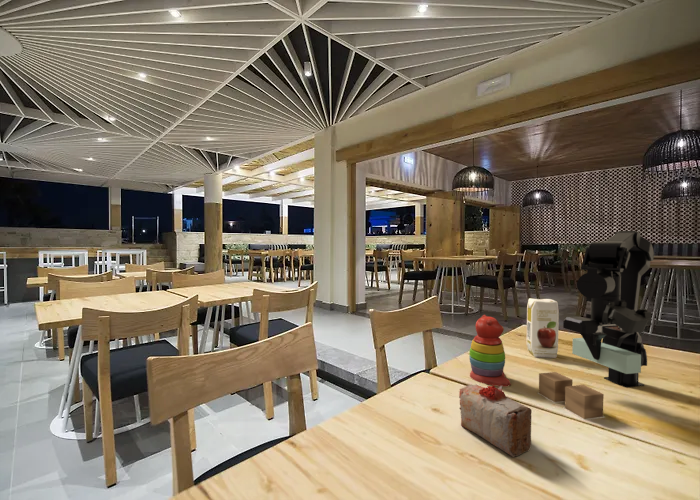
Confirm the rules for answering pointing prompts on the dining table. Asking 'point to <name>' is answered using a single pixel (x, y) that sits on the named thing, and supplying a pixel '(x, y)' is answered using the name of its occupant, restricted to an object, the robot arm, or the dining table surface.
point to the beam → (610, 356)
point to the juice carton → (542, 327)
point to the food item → (496, 418)
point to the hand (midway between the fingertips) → (603, 358)
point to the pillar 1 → (553, 385)
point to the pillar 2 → (584, 401)
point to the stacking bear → (488, 353)
